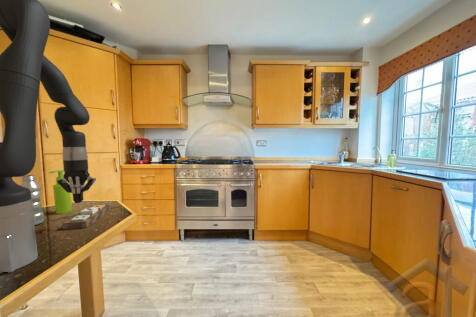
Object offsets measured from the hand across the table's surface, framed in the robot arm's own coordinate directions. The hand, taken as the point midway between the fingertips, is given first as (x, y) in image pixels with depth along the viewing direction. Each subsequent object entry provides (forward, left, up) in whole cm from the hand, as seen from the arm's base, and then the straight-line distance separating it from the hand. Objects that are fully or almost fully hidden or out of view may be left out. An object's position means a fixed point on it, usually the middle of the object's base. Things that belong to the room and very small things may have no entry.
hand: (78, 202), depth 80 cm
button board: (+7, 0, -9) cm, 11 cm away
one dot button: (+13, 0, -10) cm, 17 cm away
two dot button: (0, 0, -10) cm, 10 cm away
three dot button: (+7, 0, -9) cm, 11 cm away
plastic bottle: (+4, +19, -9) cm, 22 cm away
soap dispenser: (+18, +17, -9) cm, 26 cm away
